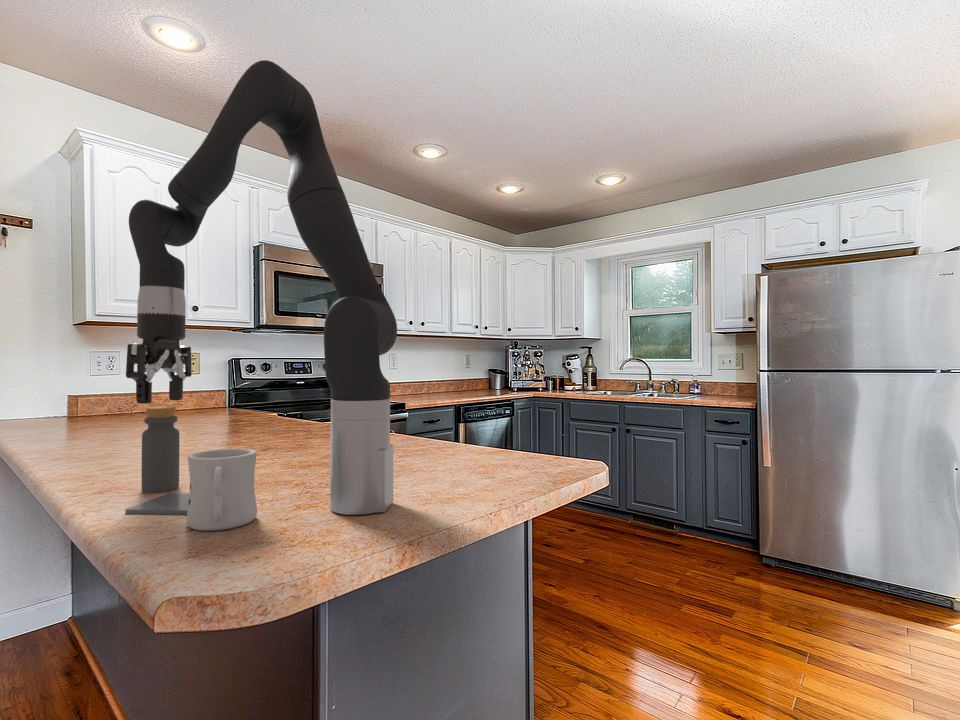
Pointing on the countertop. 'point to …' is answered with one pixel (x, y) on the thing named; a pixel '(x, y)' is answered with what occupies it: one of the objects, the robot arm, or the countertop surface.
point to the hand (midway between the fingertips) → (160, 401)
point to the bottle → (160, 451)
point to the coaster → (163, 505)
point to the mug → (221, 489)
